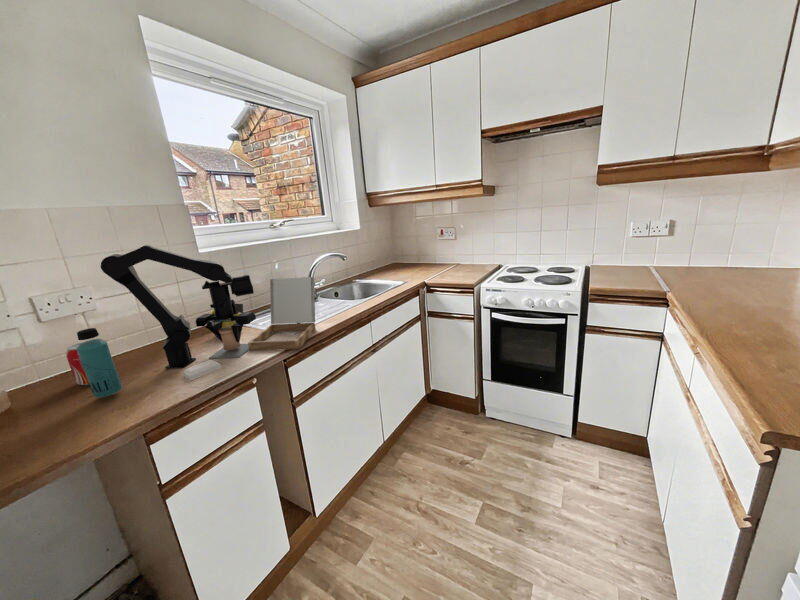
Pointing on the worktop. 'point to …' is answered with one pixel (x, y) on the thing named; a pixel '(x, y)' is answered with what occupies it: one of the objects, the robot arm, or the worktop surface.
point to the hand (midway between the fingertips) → (231, 342)
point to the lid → (292, 300)
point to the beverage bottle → (98, 364)
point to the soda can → (76, 365)
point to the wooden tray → (260, 344)
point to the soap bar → (201, 369)
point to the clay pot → (228, 338)
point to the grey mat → (231, 352)
